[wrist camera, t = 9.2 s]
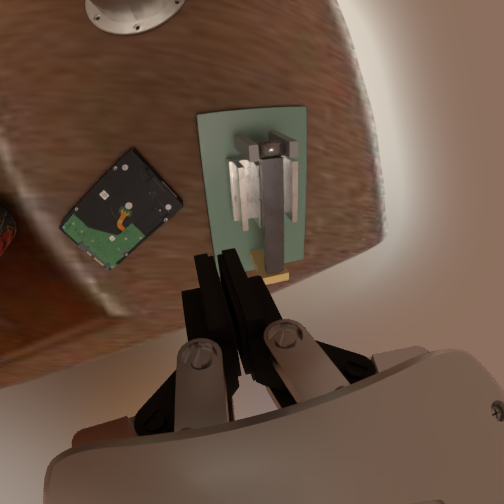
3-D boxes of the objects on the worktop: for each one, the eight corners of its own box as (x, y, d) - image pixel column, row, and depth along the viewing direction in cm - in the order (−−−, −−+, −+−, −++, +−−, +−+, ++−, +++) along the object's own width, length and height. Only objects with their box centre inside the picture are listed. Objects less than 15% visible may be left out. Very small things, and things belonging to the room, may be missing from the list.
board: (196, 114, 32) (203, 121, 25) (302, 105, 35) (333, 112, 28) (216, 272, 45) (227, 307, 39) (300, 255, 48) (322, 285, 41)
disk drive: (132, 144, 32) (62, 220, 34) (129, 148, 30) (56, 229, 32) (183, 198, 38) (112, 264, 40) (185, 206, 36) (110, 275, 38)
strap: (256, 140, 30) (261, 143, 28) (278, 138, 30) (284, 141, 29) (262, 268, 39) (267, 275, 37) (281, 264, 39) (285, 271, 38)
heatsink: (225, 158, 35) (234, 168, 31) (285, 151, 36) (301, 160, 32) (231, 214, 39) (239, 231, 35) (286, 205, 41) (300, 221, 37)
